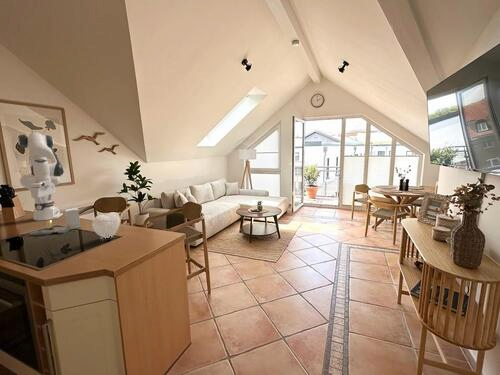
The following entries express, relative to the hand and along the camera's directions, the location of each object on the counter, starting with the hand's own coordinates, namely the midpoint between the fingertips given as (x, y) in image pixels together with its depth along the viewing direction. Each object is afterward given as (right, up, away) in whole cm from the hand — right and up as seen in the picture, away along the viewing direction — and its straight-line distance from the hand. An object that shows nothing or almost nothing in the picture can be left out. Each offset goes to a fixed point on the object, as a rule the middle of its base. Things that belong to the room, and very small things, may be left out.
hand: (45, 201), depth 173 cm
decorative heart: (+51, -24, -11) cm, 58 cm away
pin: (+3, -22, +1) cm, 22 cm away
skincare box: (+12, -21, +11) cm, 27 cm away
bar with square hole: (+3, -22, 0) cm, 22 cm away
